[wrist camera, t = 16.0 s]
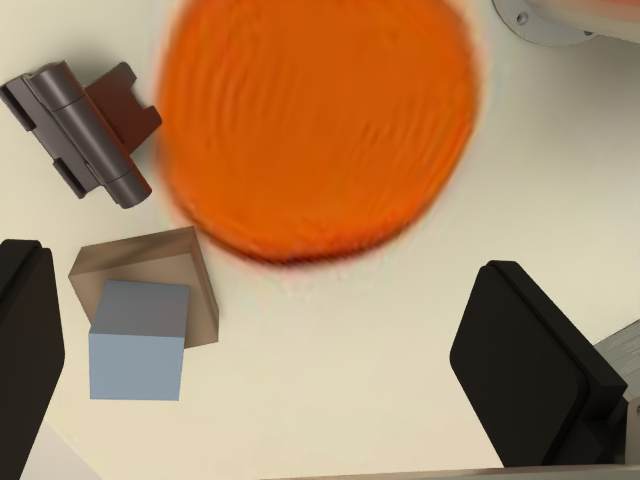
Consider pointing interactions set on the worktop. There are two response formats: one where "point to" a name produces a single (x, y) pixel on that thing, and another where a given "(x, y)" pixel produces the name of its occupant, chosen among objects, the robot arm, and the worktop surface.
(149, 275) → the walnut block
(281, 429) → the worktop surface
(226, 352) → the worktop surface
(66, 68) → the portable electronic device stand
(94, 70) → the worktop surface
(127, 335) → the slate cube
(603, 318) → the worktop surface
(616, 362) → the skincare box
